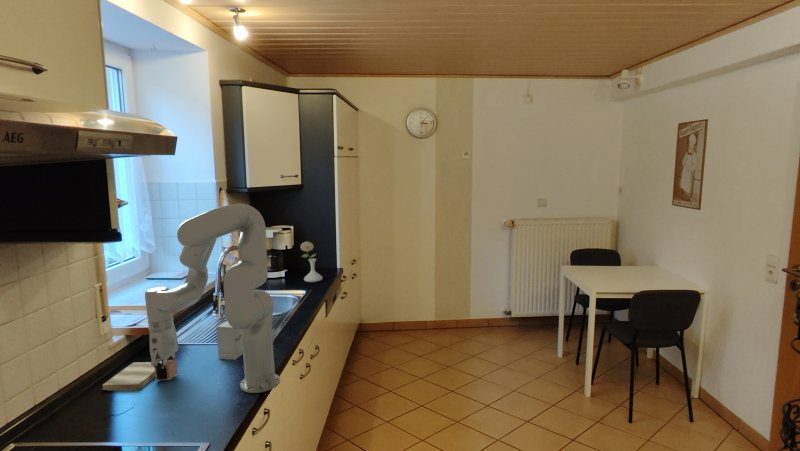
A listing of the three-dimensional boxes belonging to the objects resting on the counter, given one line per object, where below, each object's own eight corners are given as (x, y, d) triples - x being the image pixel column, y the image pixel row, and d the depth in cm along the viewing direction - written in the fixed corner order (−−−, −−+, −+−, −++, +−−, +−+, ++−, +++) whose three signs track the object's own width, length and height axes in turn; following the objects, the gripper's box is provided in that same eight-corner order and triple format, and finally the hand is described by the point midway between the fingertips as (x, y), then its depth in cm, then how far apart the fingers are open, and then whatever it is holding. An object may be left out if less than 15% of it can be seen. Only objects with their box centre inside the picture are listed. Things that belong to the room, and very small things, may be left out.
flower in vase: (325, 279, 292) (323, 239, 289) (319, 283, 281) (317, 242, 278) (305, 278, 294) (302, 239, 291) (298, 283, 283) (296, 243, 280)
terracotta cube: (170, 379, 157) (168, 365, 156) (155, 380, 157) (154, 366, 157) (177, 373, 162) (176, 359, 161) (163, 373, 162) (162, 359, 161)
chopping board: (133, 367, 169) (133, 362, 169) (166, 367, 169) (165, 362, 169) (103, 390, 152) (102, 384, 152) (139, 390, 152) (138, 384, 152)
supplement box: (235, 360, 174) (233, 327, 172) (217, 359, 175) (215, 326, 173) (246, 352, 181) (243, 321, 179) (228, 351, 182) (226, 320, 181)
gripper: (158, 332, 149) (164, 386, 151) (184, 315, 165) (189, 364, 168) (135, 333, 149) (141, 387, 151) (163, 316, 166) (168, 364, 168)
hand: (166, 374), depth 160 cm, fingers closed on terracotta cube, 5 cm apart
